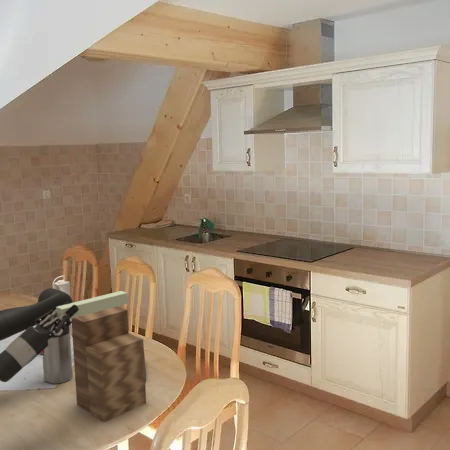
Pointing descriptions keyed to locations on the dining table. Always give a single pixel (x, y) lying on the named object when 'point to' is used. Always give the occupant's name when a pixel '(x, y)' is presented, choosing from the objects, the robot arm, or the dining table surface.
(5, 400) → the dining table surface
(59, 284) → the white water bottle
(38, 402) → the dining table surface
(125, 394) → the display stand
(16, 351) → the robot arm
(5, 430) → the dining table surface
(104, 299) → the sage bar
